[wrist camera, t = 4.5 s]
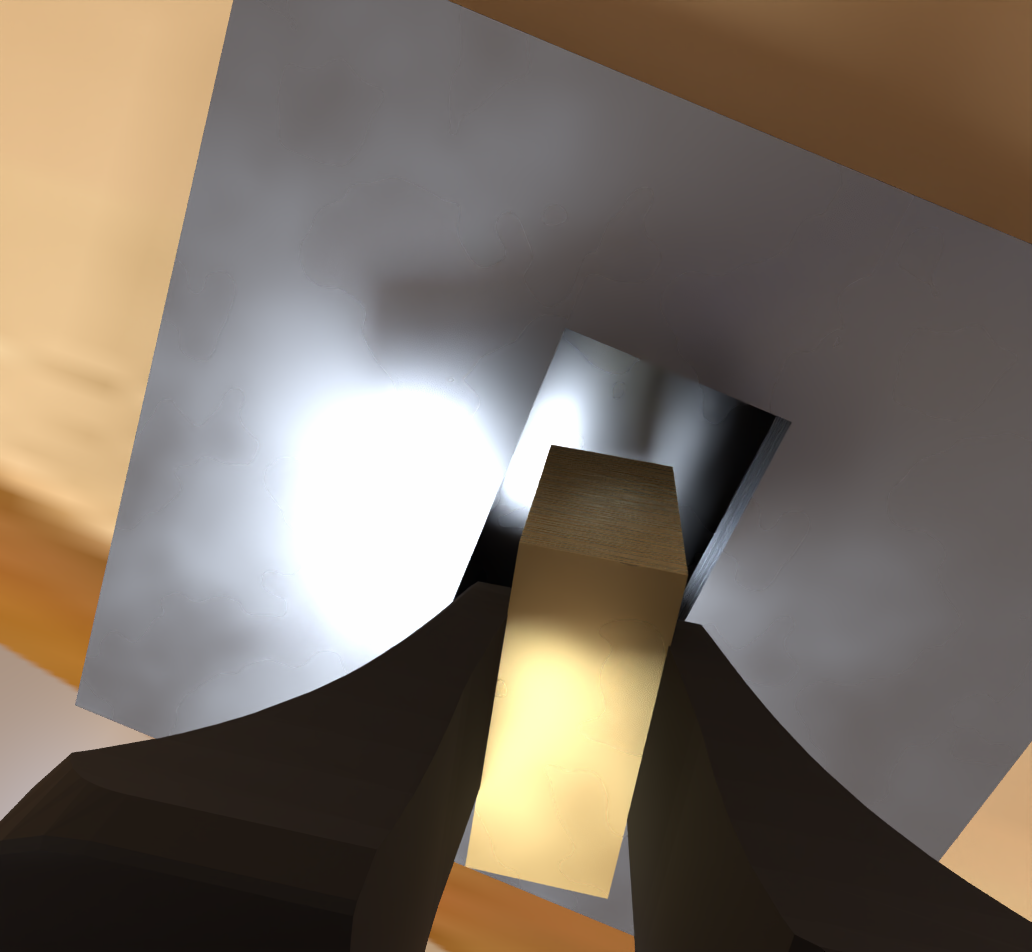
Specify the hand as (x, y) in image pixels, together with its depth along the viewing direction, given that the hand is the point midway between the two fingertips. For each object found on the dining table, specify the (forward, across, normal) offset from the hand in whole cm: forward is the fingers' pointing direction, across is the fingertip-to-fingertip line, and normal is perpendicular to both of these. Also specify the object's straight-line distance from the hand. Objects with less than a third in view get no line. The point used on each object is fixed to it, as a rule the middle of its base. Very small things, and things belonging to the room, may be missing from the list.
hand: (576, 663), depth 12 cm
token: (+3, 0, 0) cm, 3 cm away
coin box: (+9, 0, 0) cm, 9 cm away
